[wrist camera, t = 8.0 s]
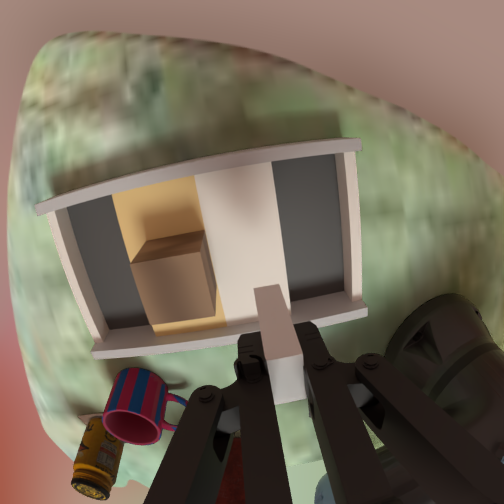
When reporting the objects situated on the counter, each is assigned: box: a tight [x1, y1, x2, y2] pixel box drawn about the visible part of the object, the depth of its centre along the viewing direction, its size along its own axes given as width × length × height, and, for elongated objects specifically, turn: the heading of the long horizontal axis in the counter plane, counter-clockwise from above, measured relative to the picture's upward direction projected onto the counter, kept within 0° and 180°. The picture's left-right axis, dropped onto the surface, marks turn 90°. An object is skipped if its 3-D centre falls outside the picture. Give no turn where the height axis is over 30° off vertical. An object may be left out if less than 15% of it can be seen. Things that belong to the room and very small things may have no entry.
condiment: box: [71, 413, 127, 500], centre depth 31 cm, size 7×8×12 cm
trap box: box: [35, 137, 368, 360], centre depth 26 cm, size 27×16×4 cm, turn 99°
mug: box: [102, 368, 188, 445], centre depth 31 cm, size 7×10×7 cm
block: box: [130, 230, 217, 325], centre depth 23 cm, size 5×5×5 cm
